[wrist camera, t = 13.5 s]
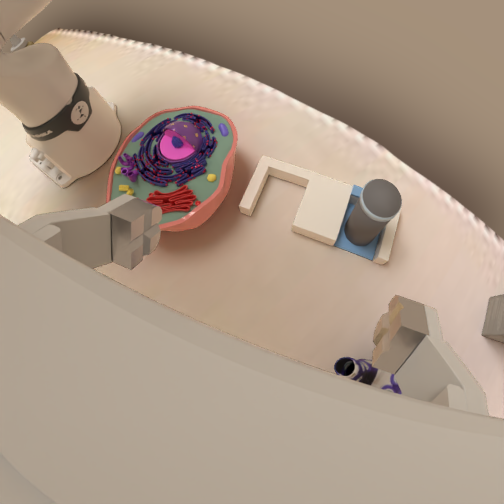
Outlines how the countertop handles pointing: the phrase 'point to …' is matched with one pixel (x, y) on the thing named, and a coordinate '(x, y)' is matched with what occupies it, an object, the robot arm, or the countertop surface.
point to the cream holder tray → (320, 208)
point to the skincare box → (495, 319)
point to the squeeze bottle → (19, 43)
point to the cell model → (177, 165)
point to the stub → (372, 211)
